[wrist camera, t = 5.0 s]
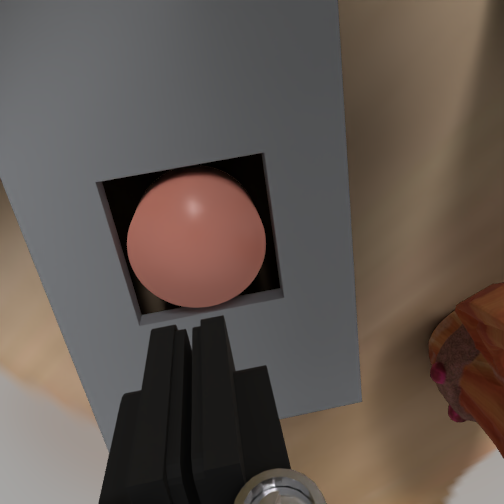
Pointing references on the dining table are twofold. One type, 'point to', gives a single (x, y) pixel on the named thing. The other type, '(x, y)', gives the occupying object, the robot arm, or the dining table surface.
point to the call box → (180, 155)
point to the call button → (196, 237)
